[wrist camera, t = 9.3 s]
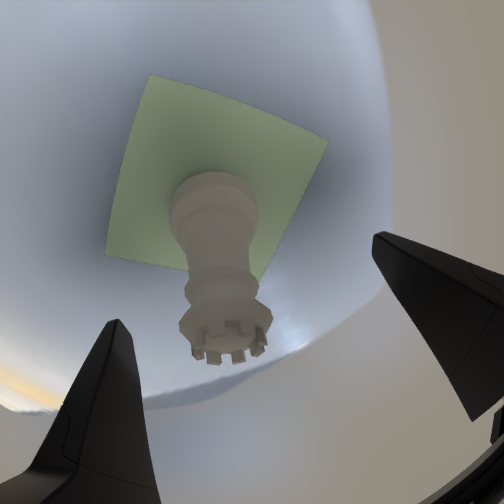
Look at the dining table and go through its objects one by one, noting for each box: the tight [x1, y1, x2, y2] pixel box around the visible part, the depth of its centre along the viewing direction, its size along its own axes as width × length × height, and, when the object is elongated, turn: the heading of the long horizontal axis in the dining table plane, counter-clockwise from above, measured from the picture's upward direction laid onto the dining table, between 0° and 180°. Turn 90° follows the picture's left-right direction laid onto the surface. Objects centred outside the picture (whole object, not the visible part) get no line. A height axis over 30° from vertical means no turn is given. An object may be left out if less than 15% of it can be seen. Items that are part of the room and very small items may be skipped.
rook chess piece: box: [169, 172, 273, 365], centre depth 12 cm, size 4×4×8 cm
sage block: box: [104, 74, 329, 283], centre depth 15 cm, size 10×10×2 cm
